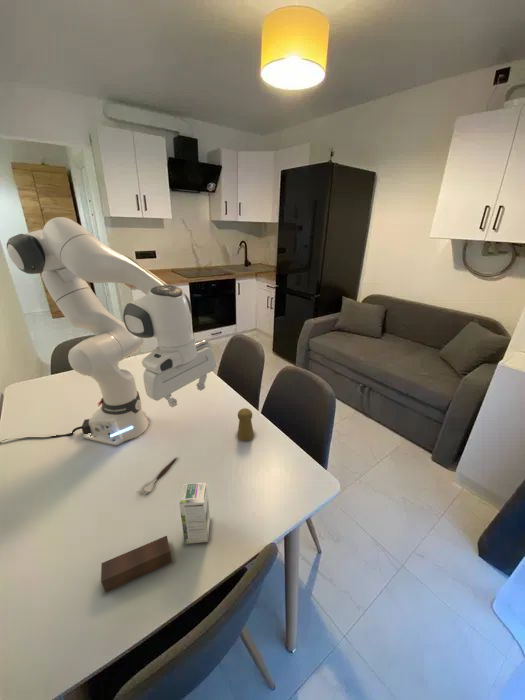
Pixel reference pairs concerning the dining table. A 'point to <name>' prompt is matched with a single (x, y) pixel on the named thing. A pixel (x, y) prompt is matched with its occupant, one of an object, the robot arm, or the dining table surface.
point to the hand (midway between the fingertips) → (187, 396)
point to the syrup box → (195, 512)
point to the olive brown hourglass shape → (245, 425)
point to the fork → (150, 486)
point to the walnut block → (135, 563)
